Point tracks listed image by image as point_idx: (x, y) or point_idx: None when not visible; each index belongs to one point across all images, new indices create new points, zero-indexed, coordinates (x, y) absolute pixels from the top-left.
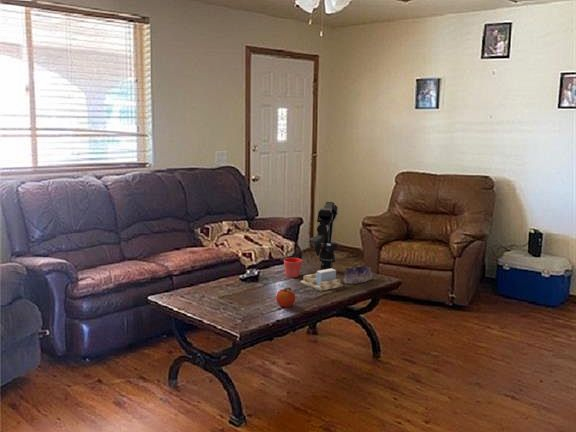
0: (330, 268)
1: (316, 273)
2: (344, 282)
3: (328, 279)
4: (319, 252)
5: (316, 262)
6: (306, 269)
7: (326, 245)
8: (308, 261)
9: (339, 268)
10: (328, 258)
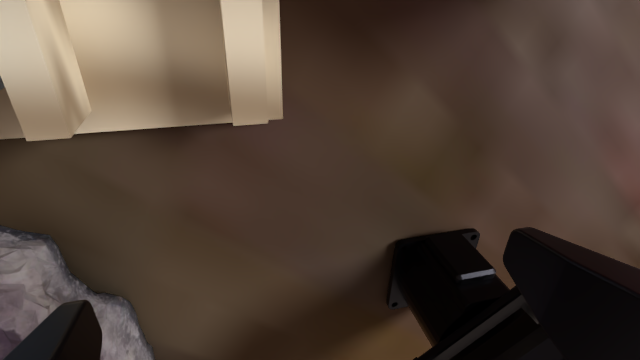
0: (407, 300)
1: (260, 4)
2: (14, 233)
3: None
4: (555, 336)
5: None
6: (560, 151)
7: None
8: (635, 262)
9: (411, 356)
10: (47, 342)
